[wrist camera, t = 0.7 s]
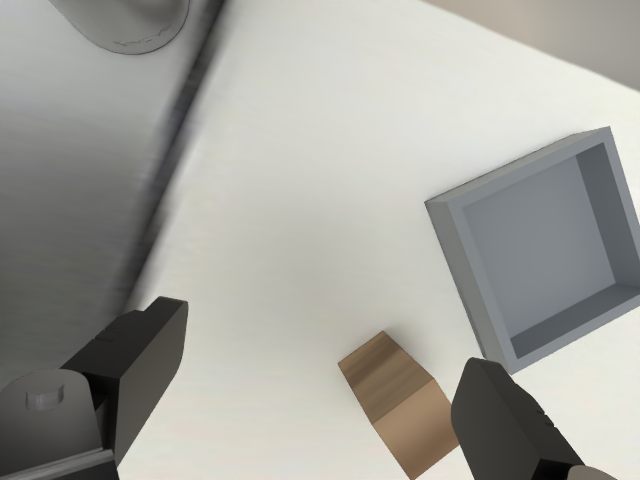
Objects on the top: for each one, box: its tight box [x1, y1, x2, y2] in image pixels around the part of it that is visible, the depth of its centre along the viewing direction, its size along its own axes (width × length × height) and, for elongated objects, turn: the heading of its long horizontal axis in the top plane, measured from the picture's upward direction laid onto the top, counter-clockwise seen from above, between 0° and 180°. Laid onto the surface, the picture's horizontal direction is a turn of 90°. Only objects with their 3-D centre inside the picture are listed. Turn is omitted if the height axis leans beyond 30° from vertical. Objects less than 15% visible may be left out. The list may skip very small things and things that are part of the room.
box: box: [424, 126, 640, 375], centre depth 35 cm, size 16×16×4 cm
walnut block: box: [338, 331, 460, 480], centre depth 30 cm, size 5×5×10 cm
